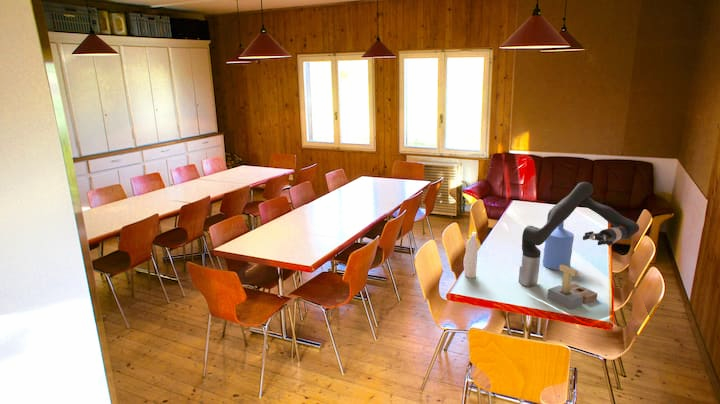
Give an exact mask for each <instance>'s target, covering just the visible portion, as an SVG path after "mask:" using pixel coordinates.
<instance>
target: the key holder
mask: <svg viewBox="0 0 720 404" xmlns="http://www.w3.org/2000/svg"><path fill="white" fill-rule="evenodd" d="M561 289H562V285H561V284H560V285H556V286H554V287H551V288H548V289H547V299H549V300H550V301H553V302H554V303H557V304H559V305H560V306H563V308H564V307H565V308H567V309H568V310H572V309H575V308H578V307H581V306H583V304H584V303H583V296H582V295H580V294H578V293H576V292H574V291H571V290H570V294H569V295H565V294H562V293H561Z"/></svg>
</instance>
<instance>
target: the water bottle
mask: <svg viewBox="0 0 720 404" xmlns="http://www.w3.org/2000/svg"><path fill="white" fill-rule="evenodd" d="M476 235H477V232H476V231H472V232H471V234H470V237H469V238H468V240H467V241H466V247H465V261H464V262H465V263H464V264H465V265H464V277H466V278H469V279H470V278H471V279H473V278H476V276H477V264H478V263H477V262H478V249H479V248H478V247H479V242H478V240H477V239H476Z"/></svg>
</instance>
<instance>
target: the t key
mask: <svg viewBox="0 0 720 404" xmlns="http://www.w3.org/2000/svg"><path fill="white" fill-rule="evenodd" d="M558 271H561V272H563V274H562V281H561V286H562V289H561V293H562V294H565V295H569V294H570V290H571V284H572V283H573V282H572V281H573V277H577V276H578V274H579V271H578V270H577V269H575V268H572V267H571V266H570V267H568V266H565V265H563V264H562V265H559V270H558Z"/></svg>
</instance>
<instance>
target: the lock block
mask: <svg viewBox="0 0 720 404" xmlns="http://www.w3.org/2000/svg"><path fill="white" fill-rule="evenodd" d="M571 291H574V292H576V293H578V294H580V295H582V296H583V303H582V304H589V303H591V302H594V301H597V300H598V293H597V292H596V291H593V290H592V289H589V288H586V287H584V286H582V285H579V284H577V283H576V282H571Z"/></svg>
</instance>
